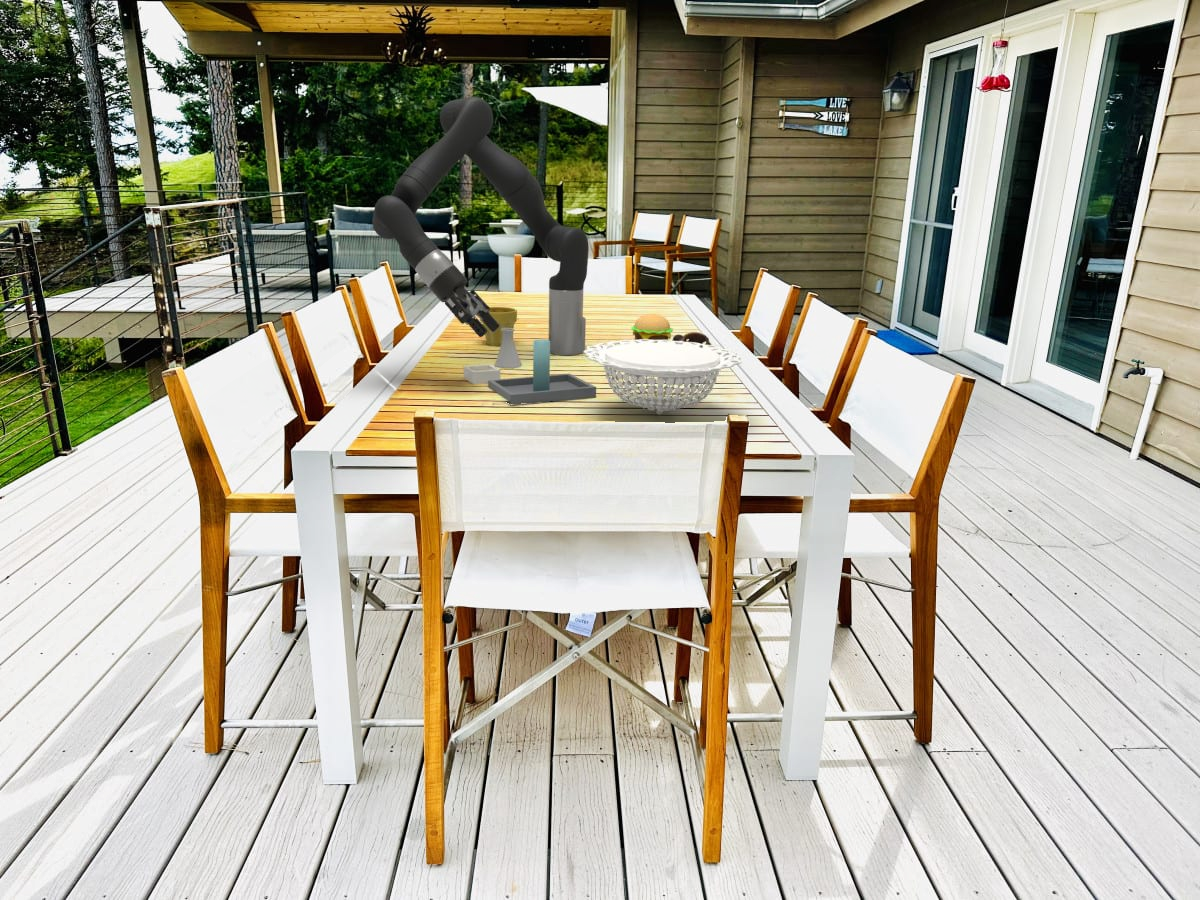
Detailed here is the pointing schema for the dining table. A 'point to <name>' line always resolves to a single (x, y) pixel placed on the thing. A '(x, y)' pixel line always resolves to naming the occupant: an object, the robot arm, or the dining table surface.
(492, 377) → the tray
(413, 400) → the dining table surface
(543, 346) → the dowel
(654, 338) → the hamburger
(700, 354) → the colander
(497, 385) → the tray
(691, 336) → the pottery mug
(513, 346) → the flask
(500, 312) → the plant pot
